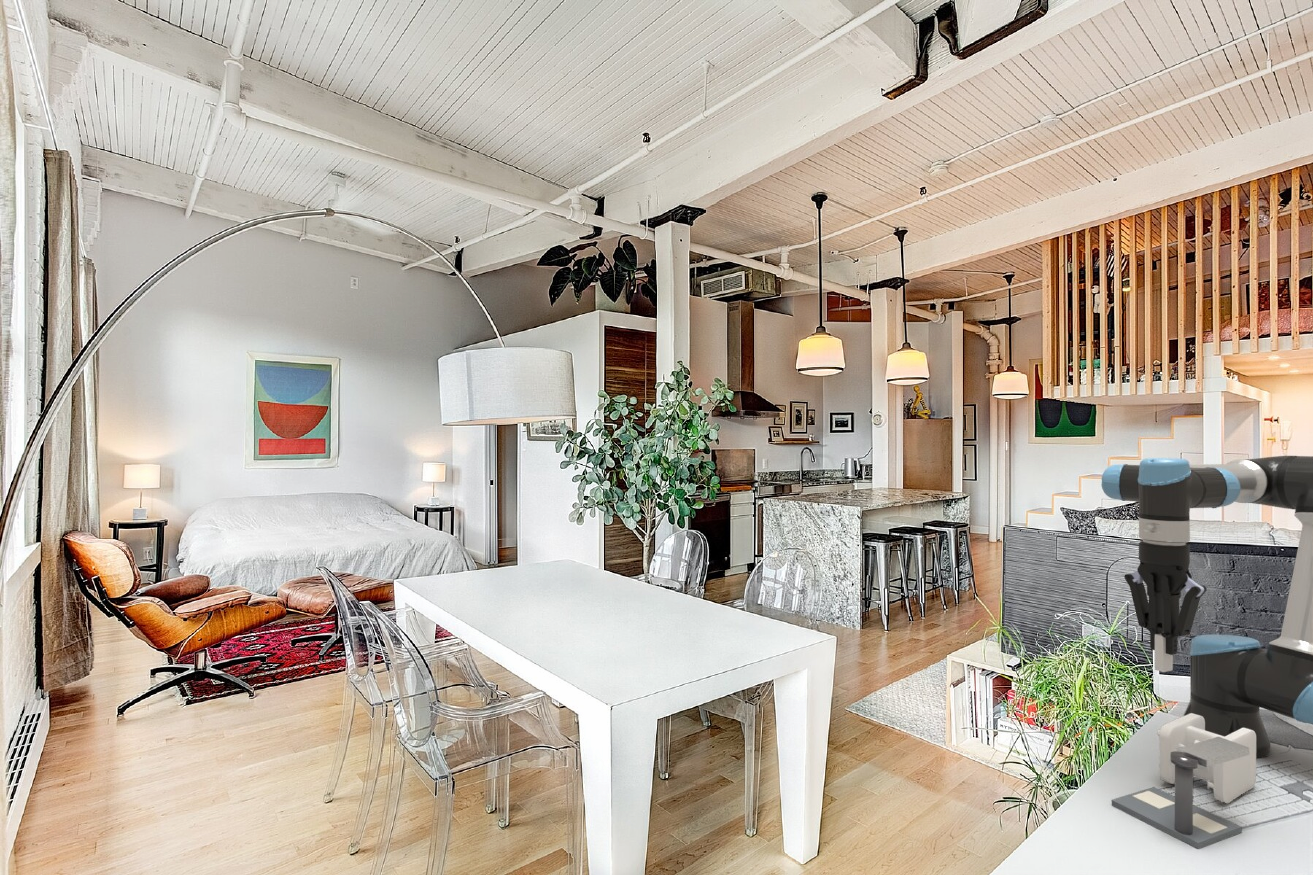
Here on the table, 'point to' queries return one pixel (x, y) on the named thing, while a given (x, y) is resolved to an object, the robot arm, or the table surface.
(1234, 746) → the grey lever handle
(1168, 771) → the cable organizer
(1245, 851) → the table surface
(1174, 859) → the table surface
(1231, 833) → the label board
